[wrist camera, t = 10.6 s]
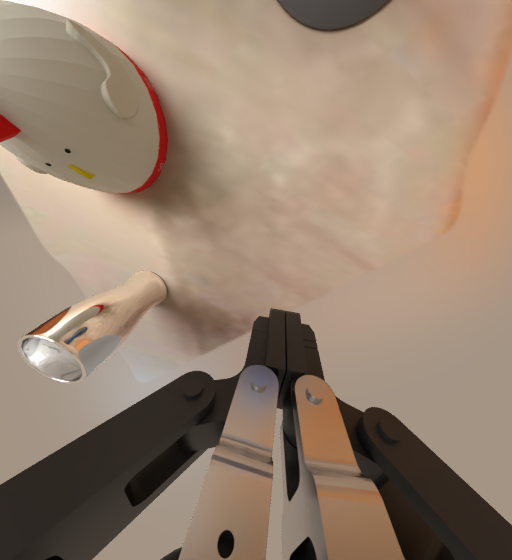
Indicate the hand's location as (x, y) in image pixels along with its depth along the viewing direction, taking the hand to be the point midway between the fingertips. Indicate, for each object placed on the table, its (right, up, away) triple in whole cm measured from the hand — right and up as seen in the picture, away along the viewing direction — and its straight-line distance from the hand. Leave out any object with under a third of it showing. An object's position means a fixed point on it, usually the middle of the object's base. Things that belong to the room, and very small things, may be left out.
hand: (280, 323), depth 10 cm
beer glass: (-19, +1, +21) cm, 29 cm away
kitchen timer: (-18, +20, +12) cm, 30 cm away
